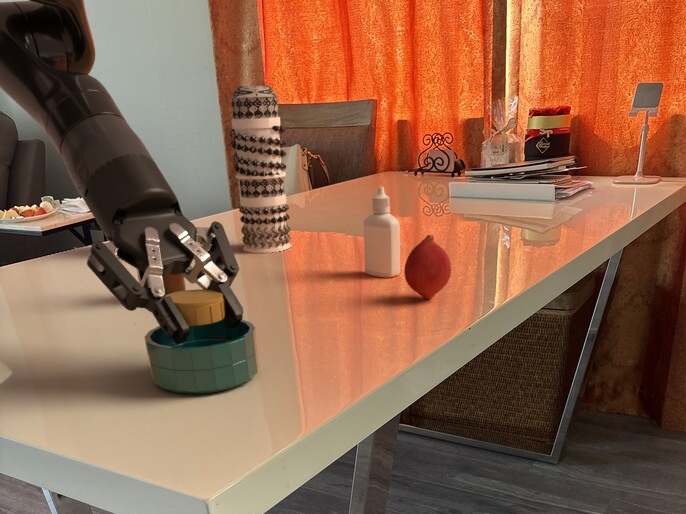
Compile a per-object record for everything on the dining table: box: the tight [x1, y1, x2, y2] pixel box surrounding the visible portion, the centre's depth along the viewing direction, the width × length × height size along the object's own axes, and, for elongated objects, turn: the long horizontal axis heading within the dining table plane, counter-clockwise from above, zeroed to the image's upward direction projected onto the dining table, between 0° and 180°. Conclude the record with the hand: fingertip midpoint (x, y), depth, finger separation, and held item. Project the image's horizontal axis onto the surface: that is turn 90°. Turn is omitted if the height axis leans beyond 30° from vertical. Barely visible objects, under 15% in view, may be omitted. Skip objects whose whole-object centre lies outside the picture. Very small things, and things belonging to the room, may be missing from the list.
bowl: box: [144, 319, 260, 395], centre depth 67 cm, size 10×10×4 cm
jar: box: [163, 274, 187, 296], centre depth 94 cm, size 5×5×10 cm
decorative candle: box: [228, 85, 292, 254], centre depth 120 cm, size 9×9×25 cm
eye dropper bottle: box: [363, 185, 401, 279], centre depth 102 cm, size 4×6×12 cm
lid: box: [166, 288, 226, 326], centre depth 65 cm, size 5×5×2 cm
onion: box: [403, 233, 452, 300], centre depth 89 cm, size 6×6×8 cm
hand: (210, 330), depth 65 cm, fingers closed on lid, 5 cm apart
